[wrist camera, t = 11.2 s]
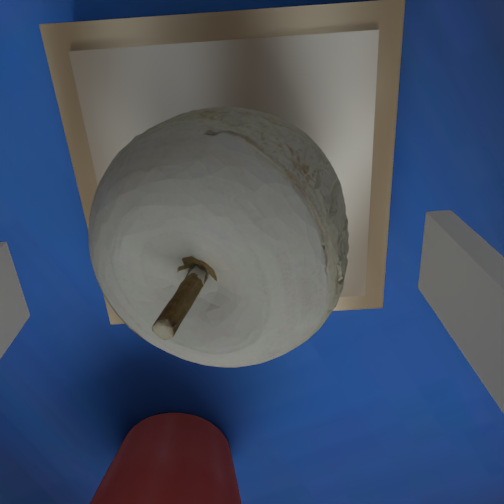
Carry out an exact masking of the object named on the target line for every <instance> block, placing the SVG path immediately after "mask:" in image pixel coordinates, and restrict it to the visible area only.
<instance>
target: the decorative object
mask: <svg viewBox="0 0 504 504" xmlns="http://www.w3.org/2000/svg"><path fill="white" fill-rule="evenodd" d="M88 236H89V251H90V257H91V262H92V266H93V269H94V273H95V276H96V278H97V281H98V283H99V285H100V288H101V290H102V292H103V294H104V296H105V298H106V300H107V301H108V303H109V305H110V306H111V308H112V309H113V310H114V312H115V313H116V314H117V316H118V317H119V318H120V319H121V320H122V321H123V322H124V323H125V324H126V325H127V326H128V327H129V328H130V329H131V330H133V331H134V332H135V333H136V334H137V335H138V336H139V337H141V338H143V339H145V340H146V341H148V342H150V343H151V344H153V345H154V346H156V347H158V348H160V349H162V350H164V351H166V352H168V353H170V354H173V355H175V356H177V357H179V358H181V359H184V360H187V361H190V362H194V363H198V364H202V365H206V366H215V367H243V366H249V365H255V364H260V363H263V362H266V361H269V360H272V359H274V358H277V357H279V356H281V355H284V354H286V353H287V352H289V351H291V350H293V349H294V348H296V347H298V346H299V345H301V344H302V343H303V342H305V341H306V340H308V339H309V338H310V337H311V336H312V335H313V334H314V333H315V332H316V331H318V330H319V328H320V327H321V326H322V325H323V323H324V322H325V321H326V319H327V318H328V316H329V315H330V313H331V312H332V311H333V309H334V308H335V307H336V305H337V303H338V300H339V297H340V295H341V292H342V290H343V285H344V279H345V274H346V269H347V264H348V259H347V254H348V252H349V244H348V239H349V233H348V219H347V216H346V205H345V202H344V196H343V192H342V187H341V184H340V181H339V179H338V177H337V174H336V173H335V171H334V168H333V167H332V165H331V163H330V162H329V160H328V159H327V157H326V156H325V154H324V153H323V151H322V150H321V149H320V147H319V146H318V145H317V144H316V143H315V142H314V141H313V140H312V139H311V137H310V136H308V135H307V134H306V133H305V132H304V131H302V130H301V129H299V128H298V127H296V126H294V125H293V124H291V123H289V122H288V121H286V120H283V119H281V118H279V117H276V116H274V115H271V114H267V113H263V112H260V111H256V110H253V109H245V108H238V107H213V108H205V109H199V110H192V111H190V112H187V113H183V114H179V115H177V116H175V117H173V118H170V119H168V120H166V121H164V122H161V123H159V124H157V125H155V126H153V127H151V128H149V129H147V130H146V131H145V132H144V133H142V134H140V135H137V136H135V137H134V138H133V139H132V141H131V142H130V143H129V144H127V145H126V146H125V147H124V148H123V149H121V150H120V151H119V152H118V154H117V155H116V156H115V157H114V159H113V160H112V161H111V163H110V165H109V166H108V168H107V170H106V171H105V173H104V175H103V177H102V179H101V180H100V182H99V185H98V187H97V189H96V192H95V195H94V198H93V202H92V206H91V212H90V218H89V234H88Z"/></svg>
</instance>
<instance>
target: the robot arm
mask: <svg viewBox="0 0 504 504" xmlns="http://www.w3.org/2000/svg"><path fill="white" fill-rule="evenodd" d="M418 288H419V290H420V291H421V293H422V294H423V296H424V297H425V299H426V300H427V302H428V303H429V305H430V306H431V308H432V309H433V311H434V312H435V313H436V315H437V316H438V318H439V319H440V321H441V322H442V324H443V325H444V327H445V328H446V330H447V331H448V333H449V334H450V336H451V337H452V338H453V340H454V341H455V343H456V344H457V346H458V347H459V349H460V350H461V352H462V353H463V355H464V356H465V358H466V359H467V361H468V362H469V363H470V365H471V366H472V368H473V369H474V371H475V372H476V374H477V375H478V377H479V378H480V380H481V381H482V383H483V384H484V386H485V387H486V388H487V390H488V391H489V393H490V394H491V396H492V397H493V399H494V400H495V402H496V403H497V405H498V406H499V408H500V409H501V411H502V412H503V413H504V257H503V256H502V255H501V254H499V253H498V252H497V251H496V250H495V249H494V248H493V247H492V246H490V245H489V244H488V243H487V242H486V241H485V240H484V239H483V238H481V237H480V236H479V235H478V234H477V233H476V232H475V231H474V230H472V229H471V228H470V227H469V226H468V225H467V224H466V223H465V222H463V221H462V220H461V219H460V218H459V217H458V216H457V215H456V214H454V213H453V212H452V211H451V210H445V211H431V212H426V219H425V228H424V238H423V247H422V256H421V266H420V275H419V284H418ZM29 317H30V313H29V310H28V307H27V304H26V301H25V298H24V295H23V292H22V289H21V286H20V282H19V279H18V276H17V273H16V270H15V267H14V264H13V261H12V258H11V255H10V251H9V248H8V245H7V242H0V359H1V357H2V356H3V354H4V353H5V352H6V350H7V349H8V347H9V346H10V344H11V343H12V341H13V340H14V338H15V337H16V335H17V334H18V333H19V331H20V330H21V328H22V327H23V325H24V324H25V322H26V321H27V319H28V318H29Z"/></svg>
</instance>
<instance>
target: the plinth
mask: <svg viewBox="0 0 504 504" xmlns="http://www.w3.org/2000/svg"><path fill="white" fill-rule="evenodd" d="M404 8H405V0H378V1H364V2H350V3H335V4H321V5H307V6H293V7H279V8H264V9H250V10H236V11H222V12H207V13H193V14H179V15H165V16H150V17H136V18H122V19H108V20H94V21H79V22H65V23H51V24H39V27H40V31H41V35H42V39H43V44H44V48H45V52H46V56H47V60H48V64H49V69H50V73H51V77H52V81H53V85H54V89H55V94H56V98H57V102H58V106H59V110H60V115H61V119H62V123H63V127H64V131H65V135H66V140H67V144H68V148H69V152H70V156H71V161H72V165H73V169H74V173H75V177H76V181H77V186H78V190H79V194H80V198H81V202H82V207H83V211H84V215H85V219H86V223H87V227H88V232H89V218H90V212H91V206H92V202H93V198H94V195H95V192H96V189H97V187H98V185H99V182H100V180H101V179H102V177H103V175H104V173H105V171H106V170H107V168H108V166H109V165H110V163H111V161H112V160H113V159H114V157H115V156H116V155H117V154H118V152H119V151H120V150H121V149H123V148H124V147H125V146H126V145H127V144H129V143H130V142H131V141H132V139H133V138H134V137H135V136H137V135H140V134H142V133H144V132H145V131H146V130H147V129H149V128H151V127H153V126H155V125H157V124H159V123H161V122H164V121H166V120H168V119H170V118H173V117H175V116H177V115H179V114H183V113H187V112H190V111H192V110H199V109H205V108H213V107H238V108H245V109H253V110H256V111H260V112H263V113H267V114H271V115H274V116H276V117H279V118H281V119H283V120H286V121H288V122H289V123H291V124H293V125H294V126H296V127H298V128H299V129H301V130H302V131H304V132H305V133H306V134H307V135H308V136H310V137H311V139H312V140H313V141H314V142H315V143H316V144H317V145H318V146H319V147H320V149H321V150H322V151H323V153H324V154H325V156H326V157H327V159H328V160H329V162H330V163H331V165H332V167H333V168H334V171H335V173H336V174H337V177H338V179H339V181H340V184H341V187H342V192H343V196H344V202H345V205H346V216H347V219H348V233H349V239H348V244H349V252H348V254H347V259H348V264H347V269H346V274H345V279H344V285H343V290H342V292H341V295H340V297H339V300H338V303H337V305H336V307H335V308H334V309H333V311H340V310H356V309H372V308H383V295H384V281H385V267H386V254H387V240H388V226H389V213H390V199H391V185H392V172H393V158H394V144H395V131H396V117H397V103H398V90H399V76H400V62H401V49H402V35H403V22H404ZM104 298H105V296H104ZM105 303H106V307H107V311H108V315H109V319H110V324H125V323H124V322H123V321H122V320H121V319H120V318H119V317H118V316H117V314H116V313H115V312H114V310H113V309H112V308H111V306H110V305H109V303H108V301H107V300H106V298H105Z"/></svg>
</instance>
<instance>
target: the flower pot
mask: <svg viewBox="0 0 504 504" xmlns="http://www.w3.org/2000/svg"><path fill="white" fill-rule="evenodd" d="M90 504H241V499H240V494H239V489H238V484H237V479H236V474H235V469H234V465H233V461H232V456H231V451H230V446H229V444H228V441H227V439H226V438H225V436H224V435H223V433H222V432H221V431H220V430H219V429H218V428H217V427H216V426H215V425H213V424H212V423H211V422H209V421H207V420H205V419H203V418H201V417H198V416H195V415H191V414H186V413H163V414H158V415H154V416H151V417H148V418H146V419H144V420H142V421H141V422H139V423H138V424H136V425H135V426H134V427H133V428H132V429H131V430H130V431H129V433H128V434H127V435H126V437H125V439H124V441H123V443H122V444H121V446H120V448H119V450H118V452H117V454H116V456H115V457H114V459H113V461H112V463H111V465H110V467H109V468H108V470H107V472H106V474H105V476H104V478H103V479H102V481H101V483H100V485H99V487H98V489H97V491H96V493H95V495H94V497H93V499H92V501H91V502H90Z"/></svg>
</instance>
